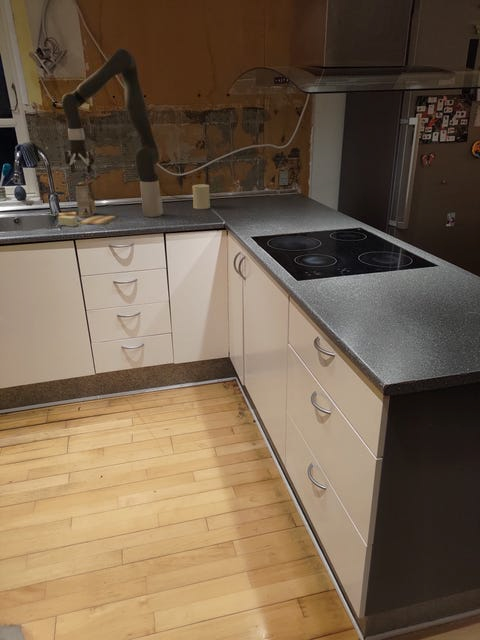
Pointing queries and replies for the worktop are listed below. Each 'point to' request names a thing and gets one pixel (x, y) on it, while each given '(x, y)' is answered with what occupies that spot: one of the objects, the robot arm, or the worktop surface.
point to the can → (201, 196)
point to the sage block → (68, 220)
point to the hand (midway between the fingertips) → (81, 172)
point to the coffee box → (85, 199)
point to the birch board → (98, 220)
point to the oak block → (68, 214)
